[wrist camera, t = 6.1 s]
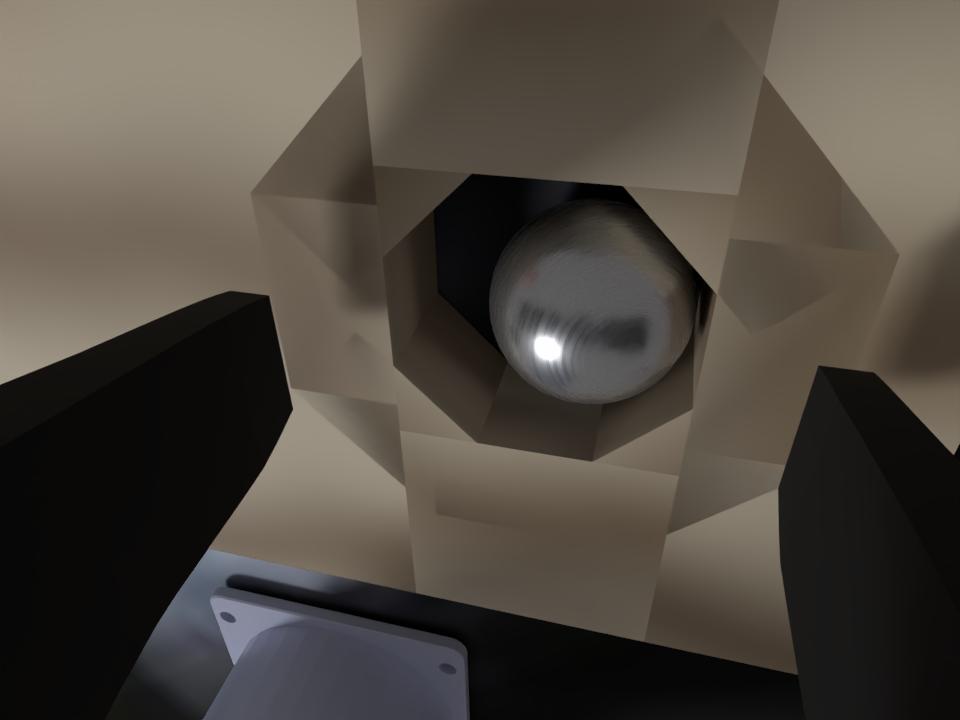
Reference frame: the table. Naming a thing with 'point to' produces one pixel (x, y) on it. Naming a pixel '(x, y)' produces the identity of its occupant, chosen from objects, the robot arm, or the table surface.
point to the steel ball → (592, 302)
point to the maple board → (447, 334)
